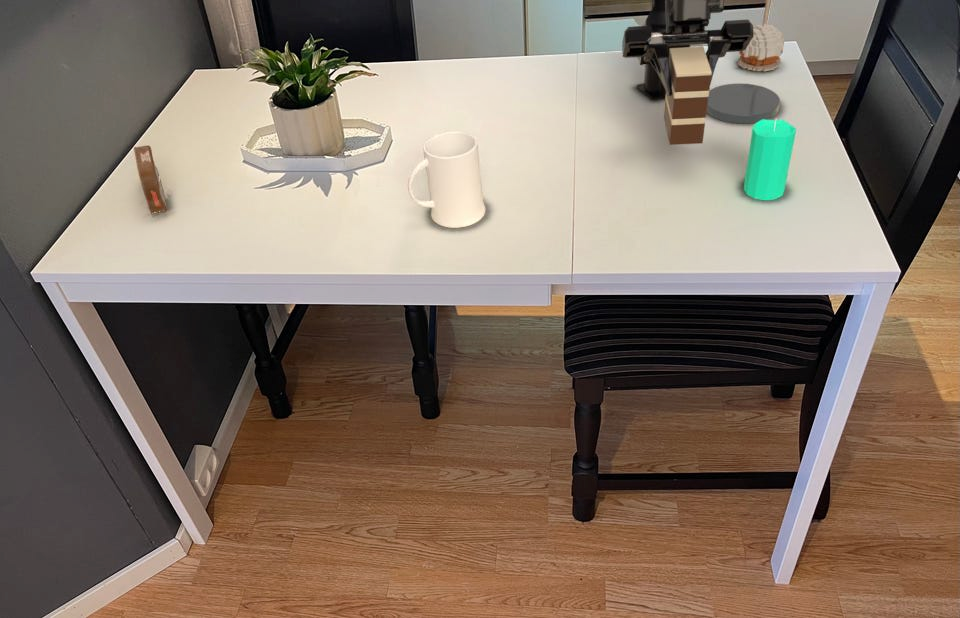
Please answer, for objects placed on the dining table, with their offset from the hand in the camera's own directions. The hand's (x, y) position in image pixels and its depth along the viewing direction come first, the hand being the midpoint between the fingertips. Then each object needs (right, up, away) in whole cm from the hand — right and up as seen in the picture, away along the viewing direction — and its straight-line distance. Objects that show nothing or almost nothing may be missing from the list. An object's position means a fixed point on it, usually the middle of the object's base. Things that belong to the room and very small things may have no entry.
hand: (688, 94), depth 119 cm
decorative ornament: (+23, +15, +36) cm, 45 cm away
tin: (-86, -14, +15) cm, 89 cm away
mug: (-36, -18, +4) cm, 41 cm away
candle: (+12, -14, +2) cm, 19 cm away
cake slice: (+1, -4, +6) cm, 7 cm away
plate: (+16, +4, +23) cm, 28 cm away
